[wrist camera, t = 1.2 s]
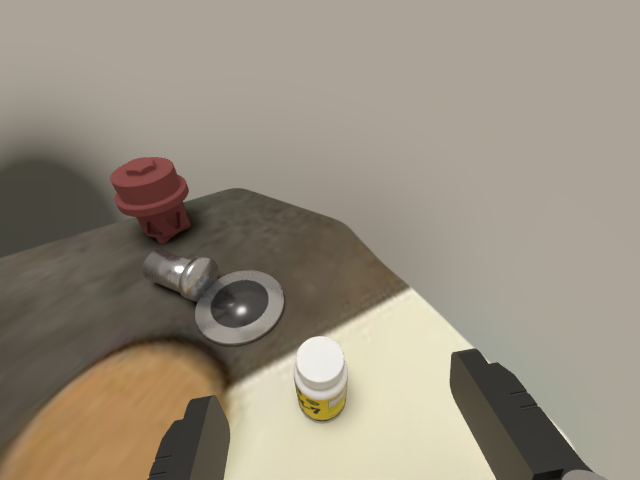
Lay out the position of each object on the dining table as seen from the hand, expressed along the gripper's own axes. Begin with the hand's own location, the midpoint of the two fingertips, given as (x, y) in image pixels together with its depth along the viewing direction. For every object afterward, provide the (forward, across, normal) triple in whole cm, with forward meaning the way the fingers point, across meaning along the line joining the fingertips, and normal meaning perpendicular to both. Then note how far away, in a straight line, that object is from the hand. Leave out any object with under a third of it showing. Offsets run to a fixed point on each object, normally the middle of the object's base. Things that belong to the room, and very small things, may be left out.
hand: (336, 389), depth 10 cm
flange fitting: (+27, +14, +14) cm, 33 cm away
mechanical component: (+42, +23, +9) cm, 48 cm away
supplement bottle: (+13, +2, +19) cm, 23 cm away
